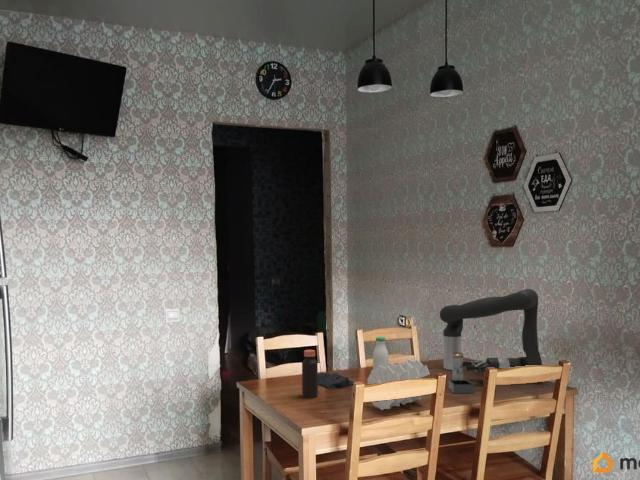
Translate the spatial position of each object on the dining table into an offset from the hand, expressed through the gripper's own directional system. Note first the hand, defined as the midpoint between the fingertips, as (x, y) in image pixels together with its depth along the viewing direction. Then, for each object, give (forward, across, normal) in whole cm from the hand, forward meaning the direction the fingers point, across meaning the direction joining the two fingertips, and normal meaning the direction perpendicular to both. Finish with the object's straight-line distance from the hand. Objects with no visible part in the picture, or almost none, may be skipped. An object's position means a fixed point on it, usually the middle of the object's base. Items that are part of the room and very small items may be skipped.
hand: (463, 366), depth 273 cm
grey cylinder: (+3, 0, +8) cm, 9 cm away
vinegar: (+73, +19, +8) cm, 76 cm away
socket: (+5, +13, +8) cm, 16 cm away
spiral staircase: (+37, +34, +8) cm, 51 cm away
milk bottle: (+38, -12, +8) cm, 41 cm away
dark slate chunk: (+63, -4, +9) cm, 64 cm away
